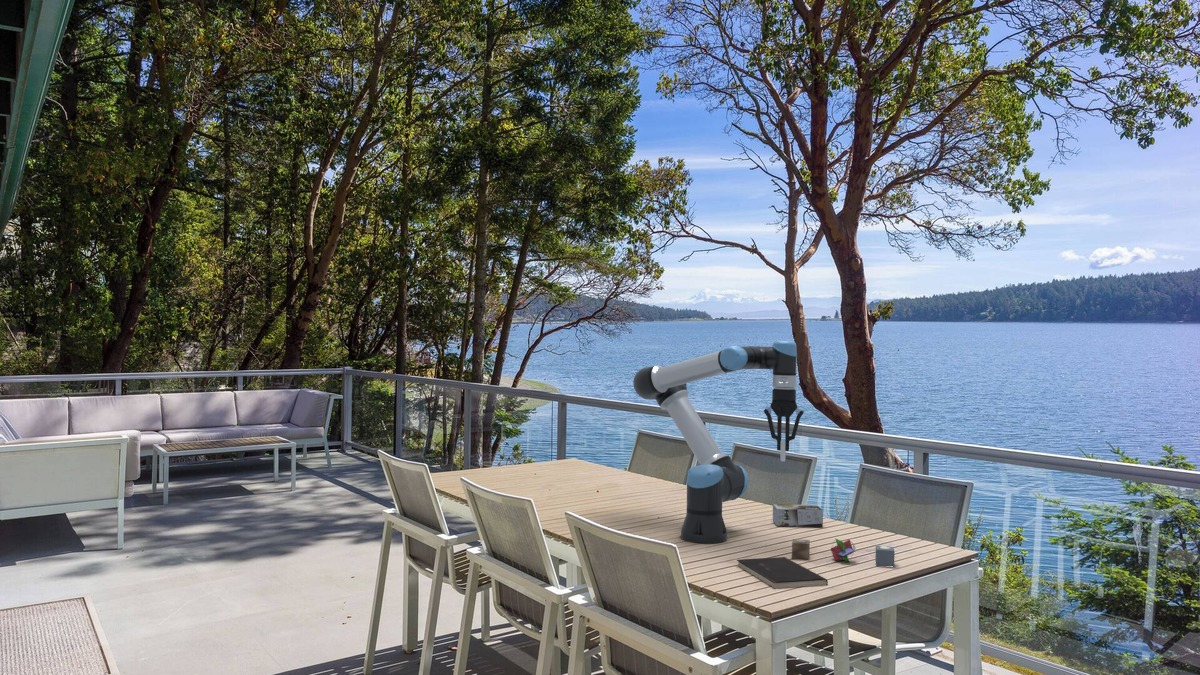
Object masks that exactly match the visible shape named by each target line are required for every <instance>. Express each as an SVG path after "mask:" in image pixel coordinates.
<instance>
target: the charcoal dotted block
mask: <svg viewBox="0 0 1200 675" xmlns="http://www.w3.org/2000/svg"><path fill="white" fill-rule="evenodd" d="M874 562H876V563H875V566H876V567H879V566H893V567H894V568H895V548H894V546H888V545H887V546H886V545H875V560H874Z"/></svg>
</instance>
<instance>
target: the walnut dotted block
mask: <svg viewBox="0 0 1200 675" xmlns="http://www.w3.org/2000/svg"><path fill="white" fill-rule="evenodd" d="M810 544H811V540H810V539H798V538H792V542H791V559H792V560H799V561H810V554H811V552H810V551H811V550H810V546H811V545H810Z"/></svg>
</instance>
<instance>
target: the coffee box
mask: <svg viewBox="0 0 1200 675" xmlns="http://www.w3.org/2000/svg"><path fill="white" fill-rule="evenodd" d="M823 519H824V516H823V509H822V508H821V507H820V506H819V505H818V504H782V503H781V504H778V503H777V504H776V503H775V504H774V503H773V504H772V522H773V523H774V524H775V525H776V526H777V527H798V528H799V527H803V528H804V527H805V528H823V526H824V525H823V524H824V523H823V522H824V520H823Z"/></svg>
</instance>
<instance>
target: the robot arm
mask: <svg viewBox="0 0 1200 675" xmlns="http://www.w3.org/2000/svg"><path fill="white" fill-rule="evenodd" d="M797 350H798V349H797V344H796V342H795V341H794V340H793V341H791V340H790V341H789V340H775V341H773V344H772V346H761V345H760V346H757V345H747V346H741V345H733V346H732V345H731V346H727V347H725V348H724V349H722V350H719V351H715V352H710V353H709V354H703V355H701V356H698V357H693V358H690V359H686V360H681V361H679V362H675V363H672V364H667V365H664V366H663V365H662V366H661V365H659V364H658V365H653V366H646V367H643V368H641V369H639V370H638V371H637V372H636V373H635V375H634V378H633V381H632V385H633V389H634V392H635V393H636V394H637V396H639V397H641V398H642V399H645V400H650V401H651V400H652V401H653V400H655V401H656V402H657V404H658V405H659V407H660V409H661V410H664V411H667V412H668V414H669V416H670V417H671V419H672V421H673V422H674V424H675V426H676V427H677V429H678V431H679V432H680V434H681V435H682V437H683V439H684V440H685V442H686V443H687V446H688V447H689V448H690V450H691V452H692V453H693V455H694V457H695V459H696V461H698V463H699V465H695V466H692V467H690V468H689V469H688V470H687V478H686V515H685V518H684V521H683V524H682V527H681V529H680V538H681V539H682V538H683V539H682V540H684V539H685V540H684V541H687V540H688V541H687V542H690V541H692V543H697V542H699V543H698V544H720V543H724V542H726V541H727V539H728V530H727V527H726V524H725V521H724V518H723V503H726V502H729V501H735V500H736V499H738V498H740V497H742V496H743V495H744V494H745V493H746V492H747V489H748V486H749V475H748V473H747V471H746V469H745V468H744V467H743V466H741V465H739V464H736V463H735V462H734V461H733V460H732V458H731V456H730V455H728V454H725V453H723V452H722V450H721V449H720V448H719V446H718V444H717V442H716V441H715V439H714V437H713V436H712V434H711V433H710V431H709V430H708V429H707V426H706V425H705V423H704V421H703V420H702V419H701V417H700V415H699V413H698V412H697V410H696V409H695V407H694V406H693V405H692V403H691V401H690V399H689V398H688V397H689V393H690V391H689V390H688V385H687V384H690V383H693V382H697V381H701V380H705V379H708V378H712V377H715V376H719V375H724V374H727V373H731V372H736V371H740V370H771V371H772V387H773V389H772V393H771V394H772V395H771V397H772V400H771V403H770V406H769V407H767V408H765V409H764V410H763V413H764V414H765V416H766V418H767V424H768V427H769V431H770V436H771V439H773V440H775V441H776V449H777V451H779V452H780V454H779V455H780V456H779V457H780V459H779V460H780V461H779V462H786V456H787V455H786V452H789V450H790V441H792V440H793V441H794V440H795V438H796V435H797V431H798V429H799V428H798V427H799V424H800V420H801V418H802V416H803V415H804V413H805V411H804V410H803V409H801V408H799V407H798V404H797V390H796V387H797V362H798V361H797V358H798V352H797ZM772 412H774V414H775V416H776V417H777V422H776V423H777V425H776V426H777V428H776V429H777V430H776V431H777V432H776V431H775V426H774V423H773V422H774V421H773V418H772ZM794 413H795V415H796V417H795V421H794V425H793V428H792V432H791V430H790V429H791V428H790V427H791V426H790V424H791V417H792V416H793V414H794ZM783 417H784V418H785V426H784V427H785V432H784V434H785V439H784V440H782V422H783V421H782V420H783ZM790 432H791V433H790ZM776 433H777V434H776Z"/></svg>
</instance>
